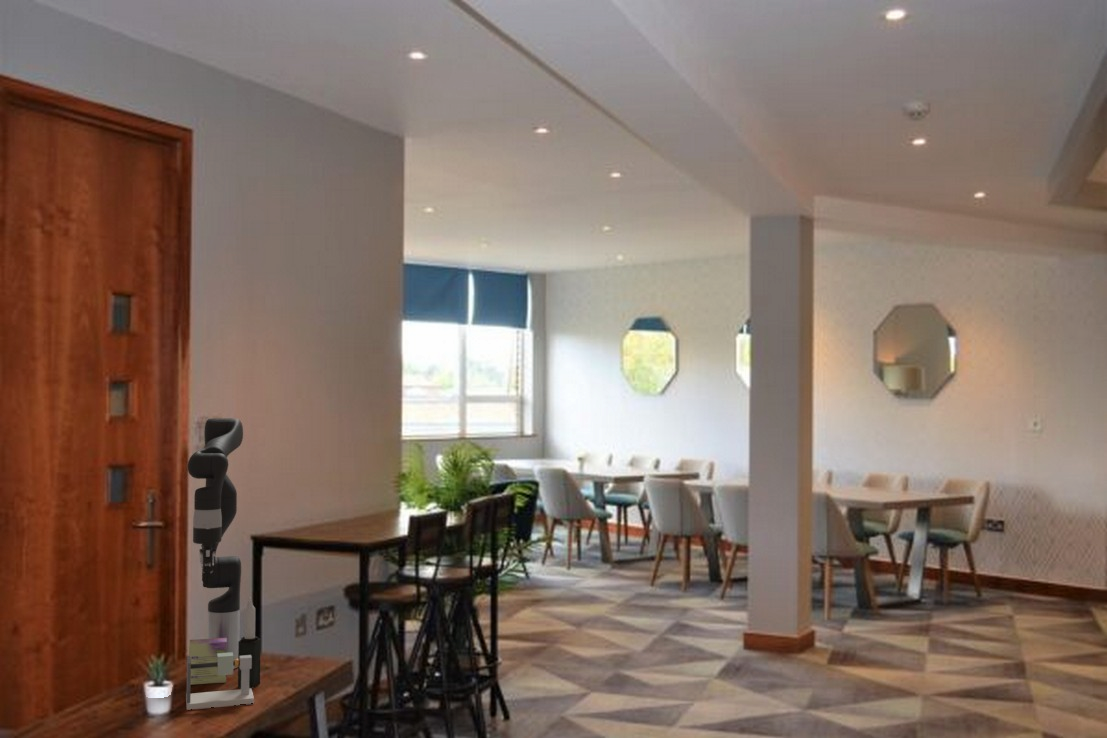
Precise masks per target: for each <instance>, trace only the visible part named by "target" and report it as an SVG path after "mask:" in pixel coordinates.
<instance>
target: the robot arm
mask: <svg viewBox="0 0 1107 738" xmlns="http://www.w3.org/2000/svg"><path fill="white" fill-rule="evenodd" d="M243 426H244V425H243V423H242V421H241V420H240V419H238V418H233V417H227V418H226V417H224V418H223V417H221V418H218V417H216V418H208V419H207V420H206V421H205V425H204V435H203V436H204V446H203V448H200V449H199V450H197V451H196V452H194V453H192V455H191V456H190V457H189V459H188V462H187V471H188V474H189V475H190V476H191V477H192V478H193V479H199V480H200V479H201V480H202V479H203V480H204V479H205V486H203V487H202V486H201V487H198V488H197V489H196V490H195V491H194V497H193V498H194V500H193V501H194V502H193V503H194V507H193V508H194V511H193V517H192V518H193V519H192V524H193V525H192V542H193V543H194V544H196V545H201V548H199V552H198V553H199V562H200V566H201V581H202V587H203V588H207V589H223V588H228V589H227V591H226V592H224V593H222V594H221V595H220V596H217V597H214V598H212V599H210V600H209V602H208V603H207V639H214V638H227V653H229V652H233V661H235V659H238V642H239V641H240V631H241V630H240V626H241V625H240V624H241V622H240V621H241V619H240V618H241V617H240V613H241V612H240V611H241V609H240V607H241V606H240V605H241V602H240V600H241V599H240V598H241V580H242V561H241V559H240V557H239V556H234V555H233V556H216V553H217V549H218V546H219V543H220V542H222V538H223V536H224V534H225V533H226V531H227V530H228V529H229V527H230V526H231V524H232V523H233V521H234V519H235V517H236V514H237V510H238V508H237V507H238V506H237V505H238V500H237V499H238V495H237V494H238V492H237V489H236V486H235V485H234V483H233V482H232V480H231V479H230V476H228V474H227V472H228V468H229V460H228V457H229V455H230V454H231V453H232V452H234V451H236V450H237V449H238V448H239V447H240V446H241V444H242V442H243V438H244V427H243ZM236 668H237V669H238V667H235V665H233V670H234V669H236Z"/></svg>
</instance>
